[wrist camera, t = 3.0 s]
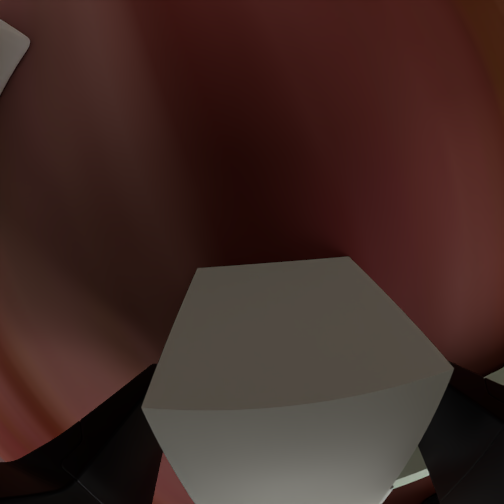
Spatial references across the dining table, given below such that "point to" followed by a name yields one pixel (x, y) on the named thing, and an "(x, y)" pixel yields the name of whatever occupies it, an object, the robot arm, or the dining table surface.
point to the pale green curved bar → (416, 464)
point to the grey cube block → (292, 385)
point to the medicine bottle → (10, 51)
